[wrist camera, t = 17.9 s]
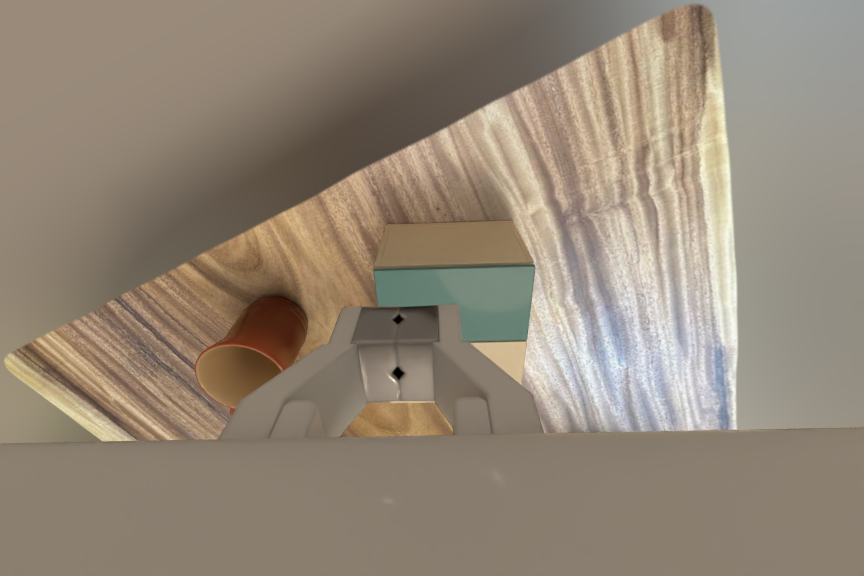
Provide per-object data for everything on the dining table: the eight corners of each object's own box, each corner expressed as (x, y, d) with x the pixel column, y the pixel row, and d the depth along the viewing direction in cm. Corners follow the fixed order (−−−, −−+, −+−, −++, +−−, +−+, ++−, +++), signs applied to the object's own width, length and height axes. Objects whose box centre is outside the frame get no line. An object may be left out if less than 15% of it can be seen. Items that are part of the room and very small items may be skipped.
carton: (386, 224, 39) (372, 270, 30) (512, 220, 39) (536, 265, 30) (397, 339, 47) (389, 404, 38) (503, 337, 47) (520, 401, 38)
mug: (248, 276, 42) (199, 331, 34) (325, 302, 44) (297, 361, 35) (232, 353, 48) (187, 418, 39) (301, 373, 50) (272, 440, 41)
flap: (374, 268, 31) (373, 271, 30) (534, 264, 31) (535, 266, 30) (382, 341, 34) (382, 343, 34) (526, 337, 34) (527, 340, 34)
